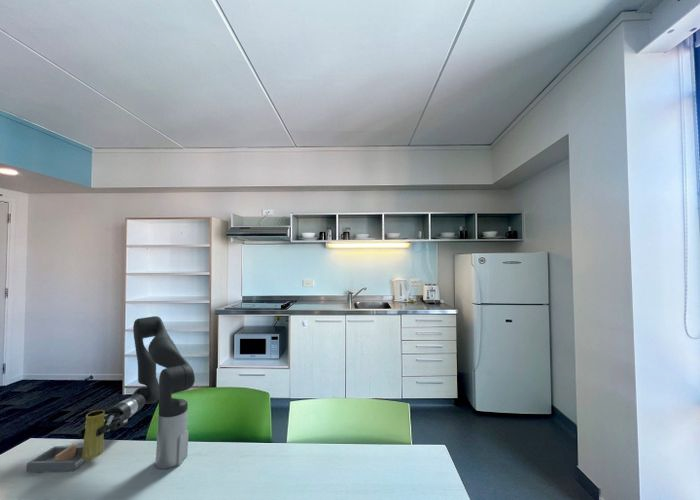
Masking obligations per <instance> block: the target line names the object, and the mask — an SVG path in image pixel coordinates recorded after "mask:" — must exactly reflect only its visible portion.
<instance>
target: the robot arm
mask: <svg viewBox="0 0 700 500" xmlns="http://www.w3.org/2000/svg"><path fill="white" fill-rule="evenodd" d="M132 328H133V339H134V348H135V354H136V360H137V381H138V384H140V385H143V386H141V387H139V388H137V389H135V391H134V392H133V393H132V394H131V396H128V397H127V398H126V399H124V400H121V401H120V402H117V404H115V405H112V407H110V408H108V409H107V410H106V411H105V417H104V426H102V427H101V428H99V429H98V430H97V431H96V436H100V435H102V434H103V433H104V434H105V433H106V432H110V430H111V431H116V430H118V429H119V428H122V427H123V426H125V425H127V424H128V420H129V419H130V418H131V417H133V416H134V415H135V414H136V413H138V412H139V411H140V410H141V409H142V408H143V407H144V406H145V404H146V405H147V404H148V405H149V404H154V403H157V402H158V416H157V417H158V419H157V432H156V433H157V434H156V448H155V449H156V450H155V467H156V468H158V469H165V470H166V469H170V468H173V467H177V466H180V465H181V464H182V463H183V462H184V460H186V458H187V457H188V451H189V448H188V447H189V431H190V429H187V427H188V425H187V424H188V409H189V408H188V407H189V406H188V401H187V400H186V399H183V398H176V397H175V398H174V397H172V395H174V394H177V393H180V392H184V391H188V390H189V389H191V388H192V387H193V386H194V385H195V382H196V378H195V375H196V374H195V371H194V369H193V367H192V366H191V364H190V363H189V362H188V361H187V359H185V358H184V357H183V356H182V354H181V353H180V351H179V350H178V347H177V345H176V344H175V342H174V341H173V340H172V338H171V337H170V335H169V333H168V331H167V330H166V327H165V323H164V322H163V320H162V318H161V317H159V316H153V315H152V316H147V317H141V318H137V319H136V318H135V320H134V322H133V327H132ZM148 338H152V340H150V342H149V345H148V348H146V346H145V343H144V339H148ZM157 365H158V366H161V367H163V368H164V369H162V370H161V371H160V374H159V378H158V377H157ZM85 422H86V421H84V422H83V423H82V428H80V429H79V430H78V437H84V434H85Z"/></svg>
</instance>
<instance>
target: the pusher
mask: <svg viewBox="0 0 700 500" xmlns="http://www.w3.org/2000/svg"><path fill="white" fill-rule="evenodd" d="M68 446H69V447H68V448H66V449H65V450H63V451H62V452H60V453H59V454H57V455H55V461H68V460H69V459H71V458H72V457H74V456H75V455H76V446H78V445H77V443H73V444H71V445H68Z"/></svg>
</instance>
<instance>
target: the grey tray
mask: <svg viewBox="0 0 700 500" xmlns="http://www.w3.org/2000/svg"><path fill="white" fill-rule="evenodd" d="M69 446H70V445H66V446H65V445H56V446H53V447H51V448H49V449H48V450H46V451H44V452H43V453H41V454H40V455H38V456H36V457H35V458H33V459H31V460H30V461H28V462H26V470H25V471H26V473H59V472H60V473H64V472H65V473H71V472H74V471H75V470H76V469H77V468H79V467H80V466H82V465H83V464H85V462H87V461H88V460H89V459H83V458H82V457H81V456H82V451H83V445H76V455H75V456H74V457H72V458H71V459H69V460H68V461H55V455H57V454H59V453H60V452H62V451H63V450H65V449H66V448H68V447H69Z"/></svg>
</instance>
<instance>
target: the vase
mask: <svg viewBox="0 0 700 500" xmlns="http://www.w3.org/2000/svg"><path fill="white" fill-rule="evenodd" d="M105 413H106V411H105V410H103V409H98V410H93V411H90V412H88V413H87V414H86V415H85V421H84V422H85V434H84V435H83V444H82V446H83V451H82V456H81V457H82V458H83V459H88V460H90V459H94V458H96V457H99V456H100V455H102V454H103V453H104V438H105V437H104V435H105V433H103V434H102V435H100V436H96V431H97V430H98V429H99V428H101V427H102V426H104V417H105Z"/></svg>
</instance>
